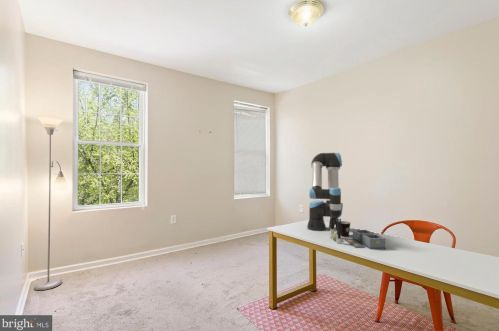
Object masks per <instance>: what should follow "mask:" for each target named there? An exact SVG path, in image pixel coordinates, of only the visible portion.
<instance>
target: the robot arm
mask: <svg viewBox="0 0 499 331" xmlns="http://www.w3.org/2000/svg"><path fill="white" fill-rule="evenodd" d="M342 166H343V160H342V155H341V154H340V153H339V152H321V153H318V154H316V155H315V156H314V157H313V158H312V160H311V164H310V167H311V169H312V170H311V171H312V172H311V173H312V174H311V188H309V190H308V191H309V194H308V195H309V199H313V201H311V202H309V204H308V208H309V209H308V210H309V212H308V214H309V215H308V216H309V217H308V218H309V219H308V222H307V227H306V228H307V230H311V231H325V230H327V227H326V223H325V219H324V217H326V218H328V217H329V223H328V224H329V225H328V227H329V229H330V230H329V234H330V235H329V236H330V239H332V235H333V234H335V230H336V234H337V241H336V243H337V244H342V236H341V233H342V226H341V221H342V218H340V217H342V214H343V207H344V206H343V205H344V204H343V202H342V199H341V198H342V194H341V193H342V190H341V188H340V187H339V186H340V184H339V170H340V169H341V167H342ZM323 167H325V169H326V170H327V188H323V179H322V178H323V172H322V171H323V170H322V169H323ZM316 199H317V200H316ZM319 199H320V200H319ZM324 200H325V202H324ZM335 227H336V228H335Z"/></svg>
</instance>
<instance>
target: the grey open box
mask: <svg viewBox="0 0 499 331" xmlns="http://www.w3.org/2000/svg"><path fill="white" fill-rule="evenodd" d="M361 244H362V245H363V246H365V247H366V248H368V249H369V250H380V249H381V250H385V249H386V238H385V237H383V236H381V235H378V234H375V233H374V234H367V235H362V243H361Z"/></svg>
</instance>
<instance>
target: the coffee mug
mask: <svg viewBox="0 0 499 331" xmlns="http://www.w3.org/2000/svg"><path fill="white" fill-rule="evenodd" d="M341 226H342V233H341V237H343V238H348V237H349V236H350V229H351V222H349V221H346V220H343V221H342V220H341ZM334 228H335V229H336V226H334Z"/></svg>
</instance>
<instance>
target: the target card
mask: <svg viewBox="0 0 499 331" xmlns="http://www.w3.org/2000/svg"><path fill="white" fill-rule="evenodd" d="M344 241H345V242H346V243H348V244H349V245H350V246H352V247H354V248H355V249H357V248H360V249H362V248H365V247H366V246H364V245H363V244H362V243H359V242H357V241H355V240H354V239H353V238H345V239H344Z"/></svg>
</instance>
